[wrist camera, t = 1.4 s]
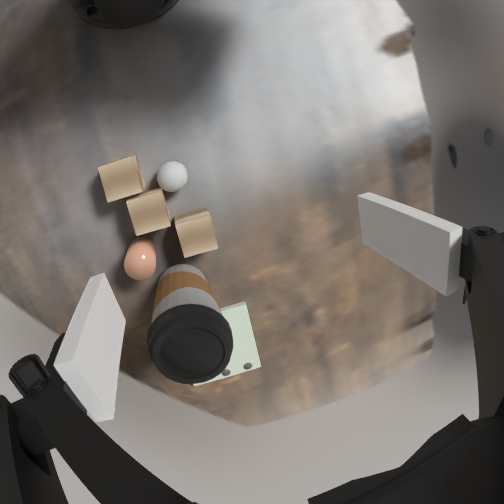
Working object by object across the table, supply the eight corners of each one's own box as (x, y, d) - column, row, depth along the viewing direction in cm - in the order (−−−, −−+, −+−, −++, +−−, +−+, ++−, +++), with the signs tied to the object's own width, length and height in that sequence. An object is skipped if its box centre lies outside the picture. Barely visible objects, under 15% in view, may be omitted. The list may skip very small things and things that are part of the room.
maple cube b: (130, 195, 36) (126, 201, 33) (161, 186, 37) (161, 191, 33) (139, 226, 38) (136, 236, 34) (170, 217, 38) (170, 226, 35)
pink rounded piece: (124, 240, 38) (119, 254, 33) (151, 232, 38) (150, 246, 34) (133, 266, 39) (130, 283, 35) (160, 259, 40) (159, 275, 35)
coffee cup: (182, 323, 44) (193, 399, 30) (137, 284, 40) (128, 356, 26) (226, 284, 43) (255, 351, 30) (182, 241, 40) (192, 298, 26)
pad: (168, 322, 43) (168, 326, 42) (244, 301, 45) (245, 304, 44) (193, 382, 48) (193, 386, 47) (259, 363, 49) (261, 366, 49)
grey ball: (154, 164, 36) (152, 167, 33) (183, 156, 36) (184, 158, 33) (161, 192, 37) (160, 198, 34) (189, 185, 38) (191, 189, 34)
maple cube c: (174, 216, 39) (175, 225, 35) (205, 207, 39) (210, 215, 36) (182, 246, 40) (184, 257, 36) (213, 238, 41) (218, 248, 37)
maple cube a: (104, 164, 34) (97, 167, 31) (136, 154, 35) (132, 156, 31) (113, 196, 36) (107, 202, 32) (144, 186, 36) (142, 191, 33)
